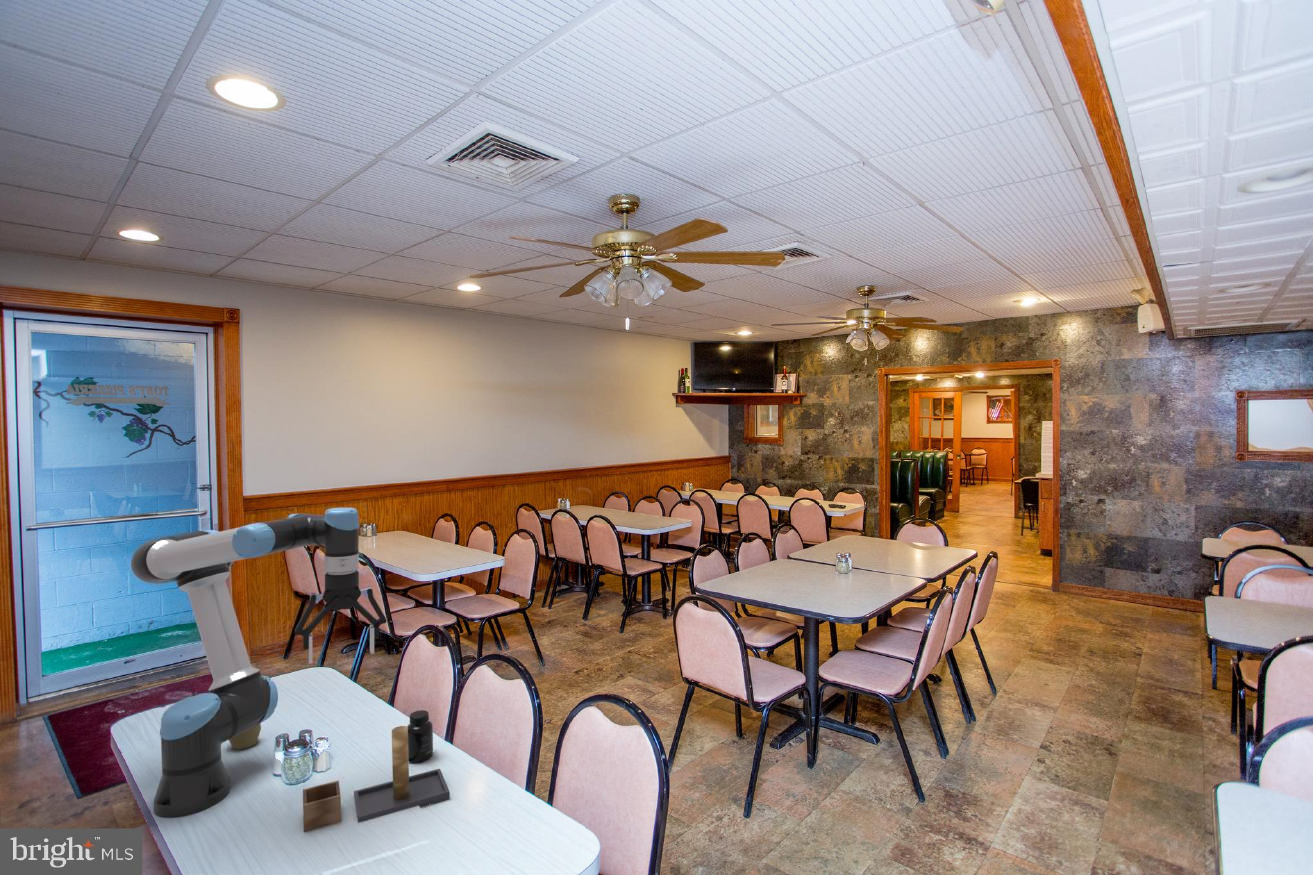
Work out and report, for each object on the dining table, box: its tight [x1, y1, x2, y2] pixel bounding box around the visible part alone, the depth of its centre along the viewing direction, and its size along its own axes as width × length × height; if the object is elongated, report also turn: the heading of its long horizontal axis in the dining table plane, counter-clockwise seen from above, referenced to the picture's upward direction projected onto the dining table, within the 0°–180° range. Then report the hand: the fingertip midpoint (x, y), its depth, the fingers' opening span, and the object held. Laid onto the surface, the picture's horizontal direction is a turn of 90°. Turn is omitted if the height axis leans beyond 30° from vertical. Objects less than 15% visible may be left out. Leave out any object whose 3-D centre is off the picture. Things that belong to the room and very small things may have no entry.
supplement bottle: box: [406, 709, 434, 764], centre depth 173 cm, size 7×7×12 cm
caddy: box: [302, 780, 342, 833], centre depth 146 cm, size 7×7×6 cm
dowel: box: [391, 725, 410, 800], centre depth 154 cm, size 4×4×16 cm
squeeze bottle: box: [228, 723, 262, 750], centre depth 182 cm, size 8×8×18 cm
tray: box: [353, 768, 451, 823], centre depth 154 cm, size 20×12×2 cm, turn 119°
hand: (341, 656), depth 158 cm, fingers open, 13 cm apart
